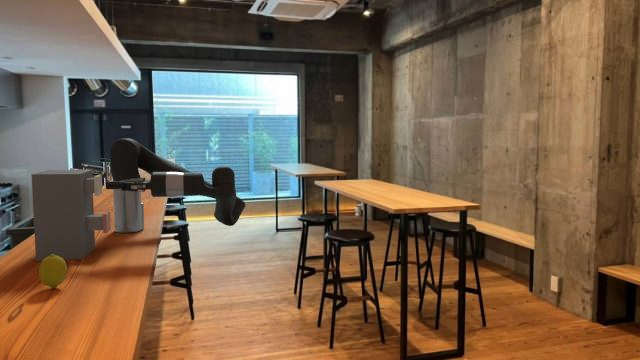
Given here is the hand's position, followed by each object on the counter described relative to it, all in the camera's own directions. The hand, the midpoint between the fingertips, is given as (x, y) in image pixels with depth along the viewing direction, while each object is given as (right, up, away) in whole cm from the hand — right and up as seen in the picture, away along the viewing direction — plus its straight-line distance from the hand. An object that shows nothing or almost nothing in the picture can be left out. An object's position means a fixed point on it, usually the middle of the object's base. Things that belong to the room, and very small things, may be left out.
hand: (106, 185), depth 136 cm
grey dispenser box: (-11, -20, 0) cm, 23 cm away
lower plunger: (-4, -14, +1) cm, 14 cm away
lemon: (+2, -23, -30) cm, 38 cm away
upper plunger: (-6, -3, -1) cm, 7 cm away
